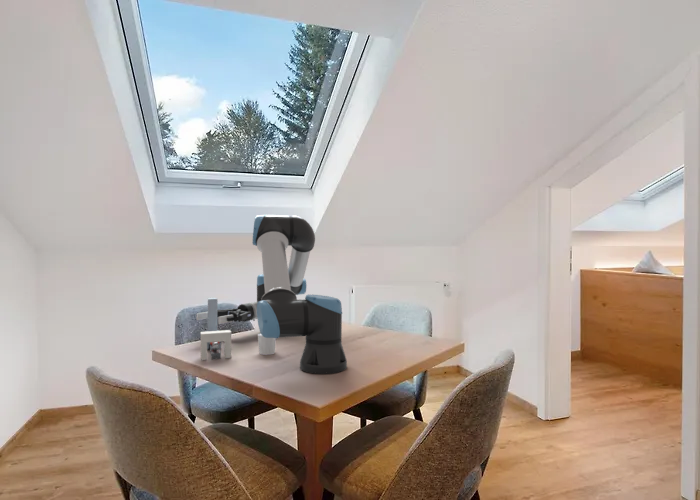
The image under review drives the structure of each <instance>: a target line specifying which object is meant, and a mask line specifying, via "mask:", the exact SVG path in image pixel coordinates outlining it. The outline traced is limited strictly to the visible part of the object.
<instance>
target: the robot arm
mask: <svg viewBox="0 0 700 500" xmlns="http://www.w3.org/2000/svg"><path fill="white" fill-rule="evenodd" d="M253 222H254V223H253V229H252V231H253V232H252V245H253V246H256V247H257V249H258V251H260V253H261V260H262V273H263V274H262V273H261V274H258V275H257V277H256V301H254V302H248V303H241V304H239V305H238V307H236V308H232V309H231V308H227V309H217V325H221V324H226V323H227V324H228V323H233V322H239V323H240V322H249V321H253V322H255V321H256V320H257V325H258V329H259V332H260V333H261V335H262V336H263V337H265V338H276V339H279V338H294V337H295V338H296V337H298V338H299V337H305V345H304V349H303V351H302V354H301V357H300V360H299V368H300V370H302V371H303V372H305V373H309V374H317V375H330V374H337V373H341V372H343V371H345V370H346V369H347V367H348V363H347V362H348V360H347V356H346V354H345V350H344V347H343V344H342V342H343V341H342V336H343V334H342V331H343V329H342V328H343V325H342V323H343V319H342V317H343V310H342V309H343V308H342V301H341V300H340V299H339V298H336V297H334V296H328V295H321V294H307V295H306V296H305V297H304V298H305V299H297V298H298V297H297V296H298V295H305V294H306V293H307V280H306V278H305V274H306V270H307V267H308V262H309V258H310V253H311V251H312V250H313V249H314V247H315V243H316V235H315V231H314V229H313V227H312V225H310V223H309V222H308V221H307V220H306V219H304V218H302V217H301V216H297V215H281V214H280V215H279V214H277V215H276V214H259V215H256V216H255V217H254V221H253ZM288 247H291V251H290V256H289V257H290V258H289V261H288V260H287V252H286V250H287V248H288ZM288 262H289V263H288ZM206 319H207V320H208V311H205V312H204V311H203V312H198V313H196V321H201V320H206Z"/></svg>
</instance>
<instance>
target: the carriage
mask: <svg viewBox="0 0 700 500" xmlns="http://www.w3.org/2000/svg"><path fill="white" fill-rule="evenodd" d="M217 310H218V297H208V298H207V312H208V319H207V330H205V332H207V331H220V330H219V329H218V317H217ZM209 344H210V342H207V350H210V349H209ZM219 349H222V341H221V342H219Z"/></svg>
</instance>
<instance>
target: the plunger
mask: <svg viewBox="0 0 700 500" xmlns="http://www.w3.org/2000/svg"><path fill="white" fill-rule="evenodd" d="M210 344H211V346H212V347H213V349H214V350H218V349H220V348H219V342H210Z"/></svg>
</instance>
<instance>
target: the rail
mask: <svg viewBox="0 0 700 500" xmlns="http://www.w3.org/2000/svg"><path fill="white" fill-rule="evenodd" d="M220 349H221V348H219V349H218V350H214V349H213V347H212V346H211V344H209V349H208V350H209V353H210V358H211V360H220V359H222V353H221V350H220Z"/></svg>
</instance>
